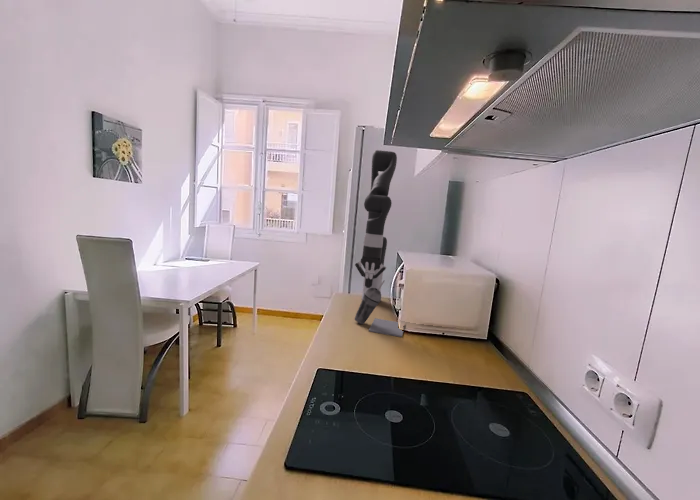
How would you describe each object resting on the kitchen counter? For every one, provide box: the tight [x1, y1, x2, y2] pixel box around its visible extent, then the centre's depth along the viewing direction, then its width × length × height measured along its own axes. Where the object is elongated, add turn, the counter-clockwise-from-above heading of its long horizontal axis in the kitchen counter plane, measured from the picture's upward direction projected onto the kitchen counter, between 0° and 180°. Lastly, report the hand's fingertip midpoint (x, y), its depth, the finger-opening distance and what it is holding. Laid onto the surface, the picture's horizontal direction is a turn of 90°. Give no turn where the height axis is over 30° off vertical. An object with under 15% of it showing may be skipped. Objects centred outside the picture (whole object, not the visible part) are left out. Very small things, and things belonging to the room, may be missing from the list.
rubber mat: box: [368, 317, 404, 338], centre depth 149 cm, size 16×13×1 cm
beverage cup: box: [354, 280, 385, 325], centre depth 149 cm, size 7×7×20 cm
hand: (368, 287), depth 149 cm, fingers closed
